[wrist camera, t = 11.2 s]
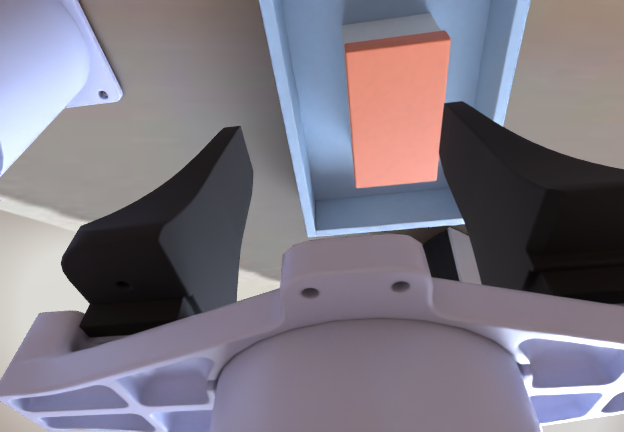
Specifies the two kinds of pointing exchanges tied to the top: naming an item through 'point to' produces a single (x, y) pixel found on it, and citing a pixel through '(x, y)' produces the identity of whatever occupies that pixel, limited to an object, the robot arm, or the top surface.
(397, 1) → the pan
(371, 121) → the sushi
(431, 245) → the padlock
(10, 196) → the top surface
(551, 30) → the top surface
